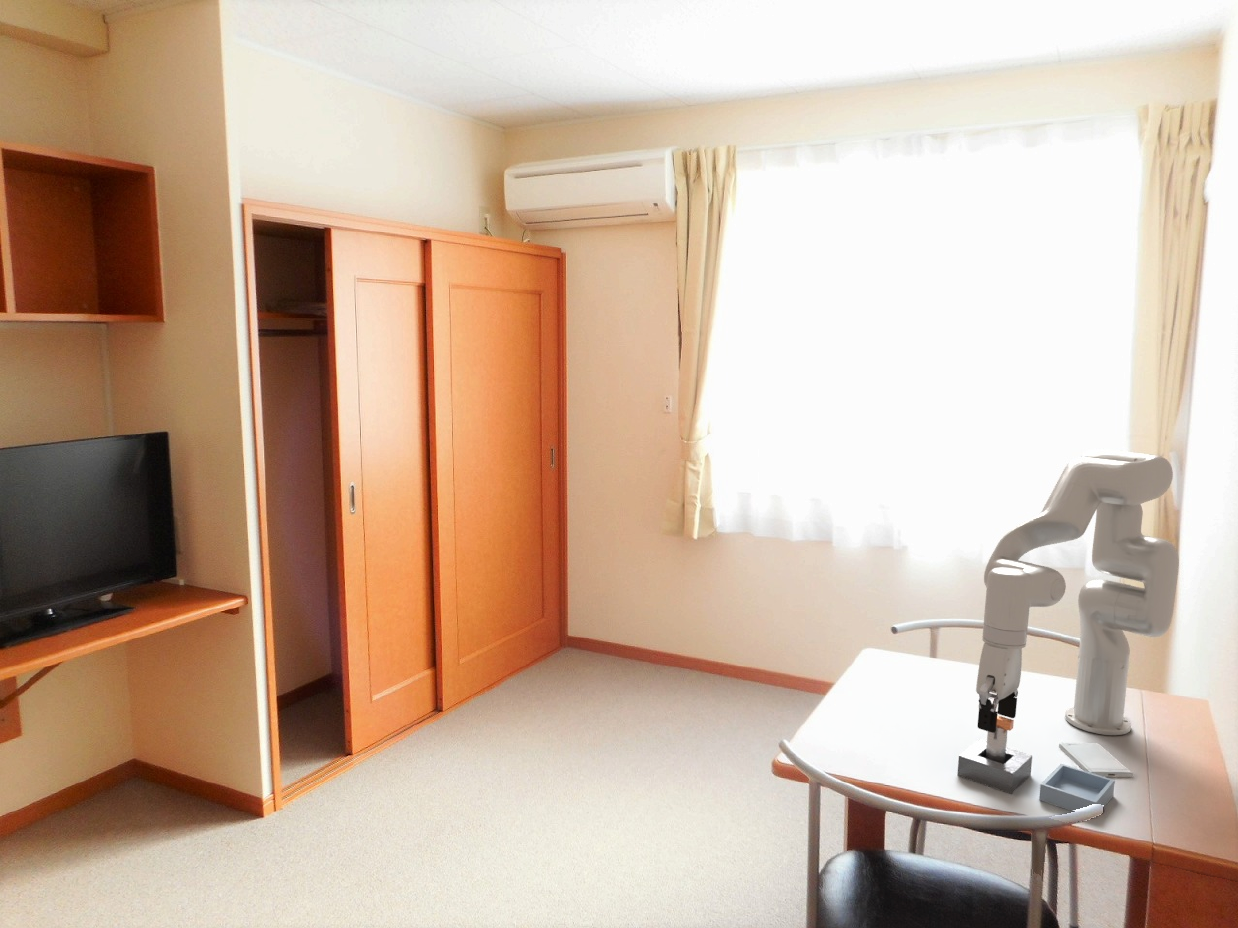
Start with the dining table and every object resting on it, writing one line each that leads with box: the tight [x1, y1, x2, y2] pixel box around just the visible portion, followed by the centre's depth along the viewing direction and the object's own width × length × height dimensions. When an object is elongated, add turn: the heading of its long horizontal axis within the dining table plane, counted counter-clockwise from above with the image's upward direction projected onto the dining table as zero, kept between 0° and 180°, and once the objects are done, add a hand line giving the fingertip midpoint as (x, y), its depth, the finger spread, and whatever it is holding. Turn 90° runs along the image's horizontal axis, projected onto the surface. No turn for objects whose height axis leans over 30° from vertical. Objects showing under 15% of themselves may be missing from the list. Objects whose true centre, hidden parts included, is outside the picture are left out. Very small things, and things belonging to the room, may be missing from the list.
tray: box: [1038, 763, 1115, 812], centre depth 164 cm, size 11×9×3 cm
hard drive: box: [1058, 742, 1134, 778], centre depth 178 cm, size 2×8×12 cm
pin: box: [986, 714, 1014, 764], centre depth 171 cm, size 3×5×12 cm
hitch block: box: [957, 738, 1033, 795], centre depth 172 cm, size 10×10×4 cm
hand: (996, 722), depth 170 cm, fingers open, 9 cm apart
